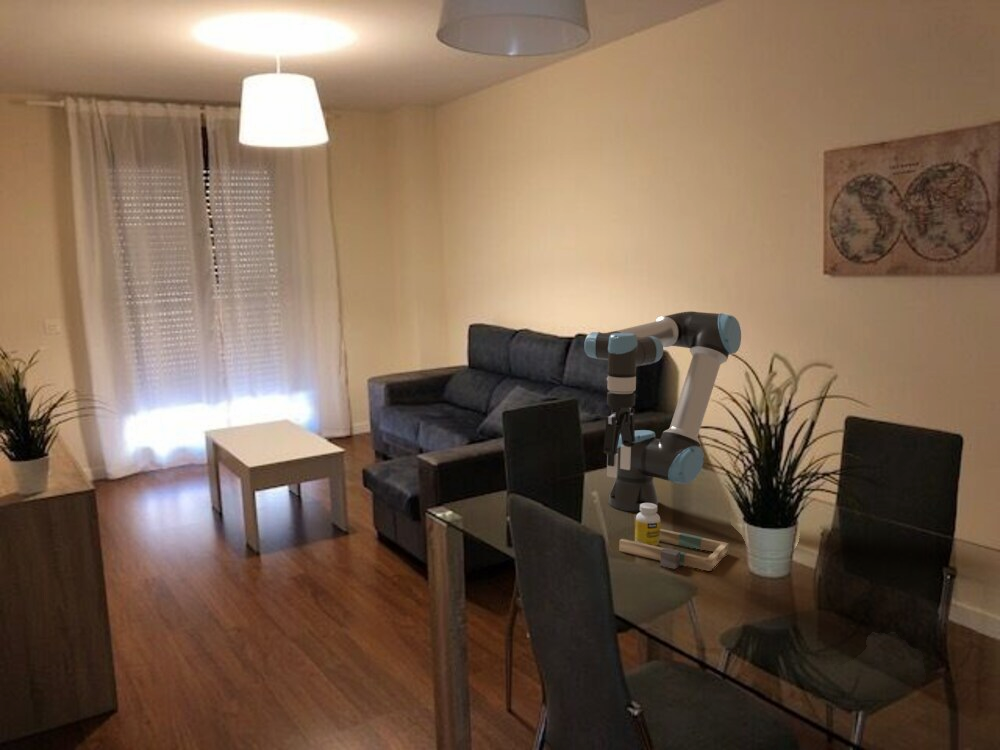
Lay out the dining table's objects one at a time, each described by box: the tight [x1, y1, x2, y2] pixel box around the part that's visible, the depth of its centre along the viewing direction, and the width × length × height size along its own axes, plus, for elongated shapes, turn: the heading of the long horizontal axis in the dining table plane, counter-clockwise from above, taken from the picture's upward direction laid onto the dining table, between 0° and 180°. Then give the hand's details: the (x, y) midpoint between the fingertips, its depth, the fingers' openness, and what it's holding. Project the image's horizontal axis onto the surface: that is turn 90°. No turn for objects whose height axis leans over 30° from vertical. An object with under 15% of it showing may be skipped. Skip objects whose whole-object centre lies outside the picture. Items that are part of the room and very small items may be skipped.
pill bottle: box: [634, 503, 661, 547], centre depth 220 cm, size 6×6×12 cm
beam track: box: [618, 528, 729, 570], centre depth 216 cm, size 18×25×4 cm
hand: (618, 472), depth 223 cm, fingers open, 8 cm apart
